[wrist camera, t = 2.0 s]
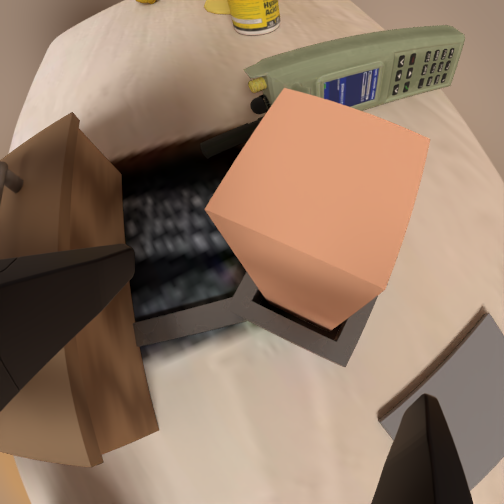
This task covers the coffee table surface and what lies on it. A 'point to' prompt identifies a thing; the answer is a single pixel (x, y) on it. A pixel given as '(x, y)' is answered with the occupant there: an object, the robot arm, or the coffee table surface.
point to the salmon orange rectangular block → (320, 205)
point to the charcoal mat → (468, 399)
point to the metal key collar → (249, 309)
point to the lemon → (146, 1)
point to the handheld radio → (353, 72)
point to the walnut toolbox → (93, 334)
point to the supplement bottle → (254, 16)
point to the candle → (217, 6)
